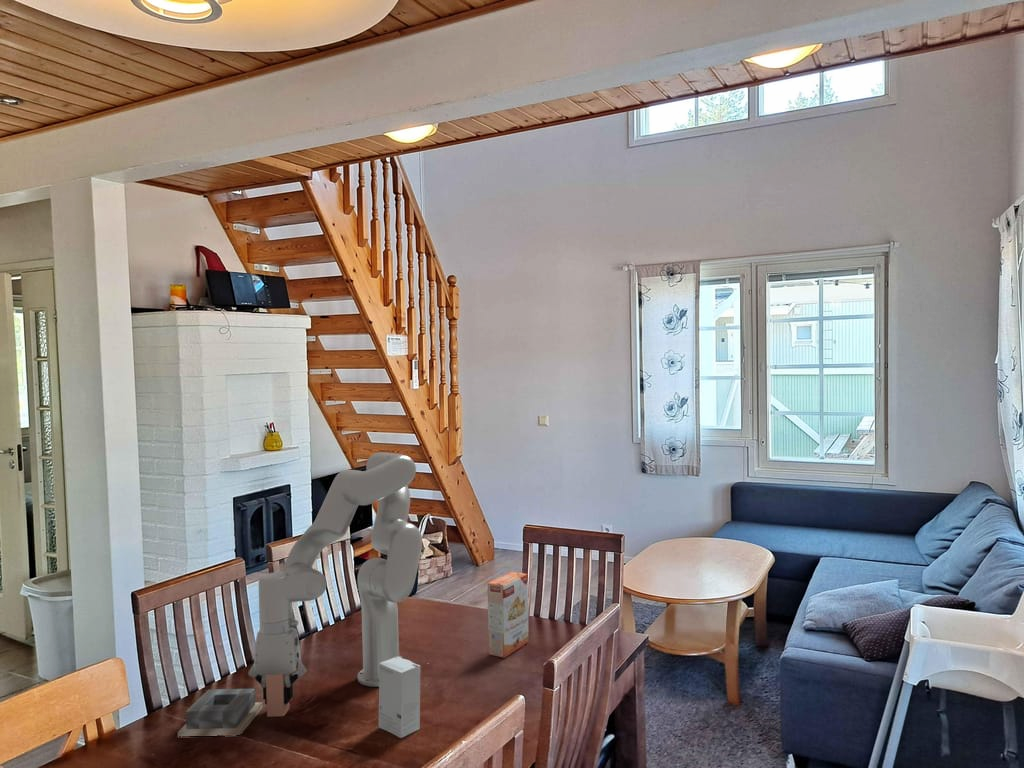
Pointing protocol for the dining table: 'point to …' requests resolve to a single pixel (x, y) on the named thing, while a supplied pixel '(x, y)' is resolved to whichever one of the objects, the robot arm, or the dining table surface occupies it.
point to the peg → (275, 695)
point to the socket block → (221, 713)
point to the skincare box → (399, 696)
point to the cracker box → (508, 614)
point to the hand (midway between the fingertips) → (278, 700)
